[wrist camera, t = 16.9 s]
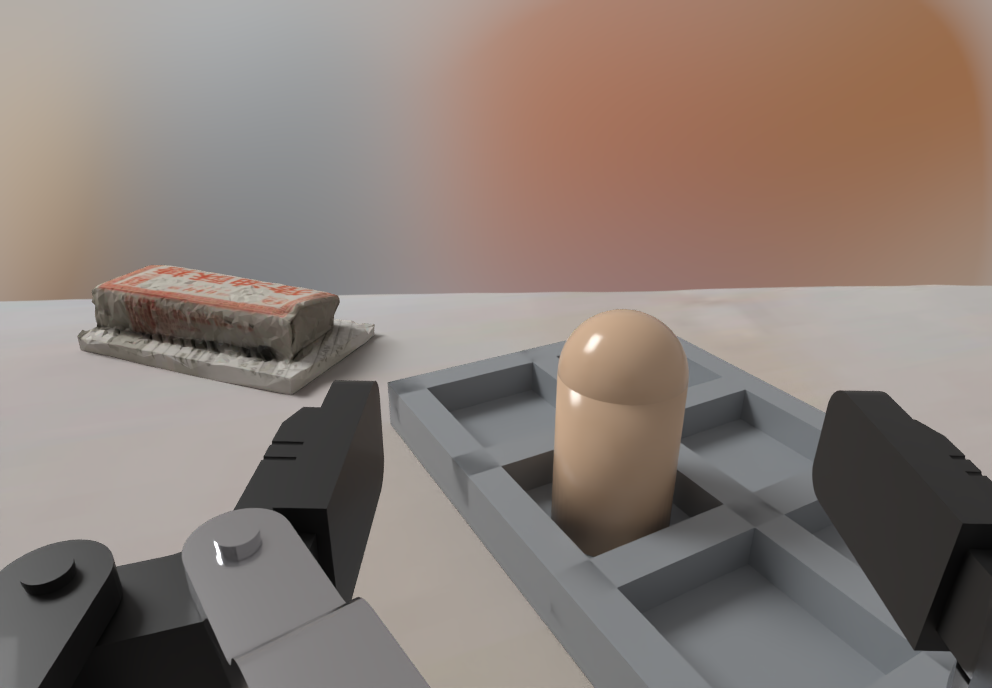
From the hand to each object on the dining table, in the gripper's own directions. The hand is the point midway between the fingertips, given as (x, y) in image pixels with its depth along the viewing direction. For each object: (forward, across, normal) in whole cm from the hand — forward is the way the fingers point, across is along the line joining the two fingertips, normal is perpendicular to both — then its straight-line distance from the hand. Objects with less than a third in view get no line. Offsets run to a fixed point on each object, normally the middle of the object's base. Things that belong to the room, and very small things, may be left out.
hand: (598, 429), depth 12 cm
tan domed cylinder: (+13, -3, +13) cm, 18 cm away
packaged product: (+33, +21, +15) cm, 42 cm away
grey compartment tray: (+15, -6, +14) cm, 21 cm away
